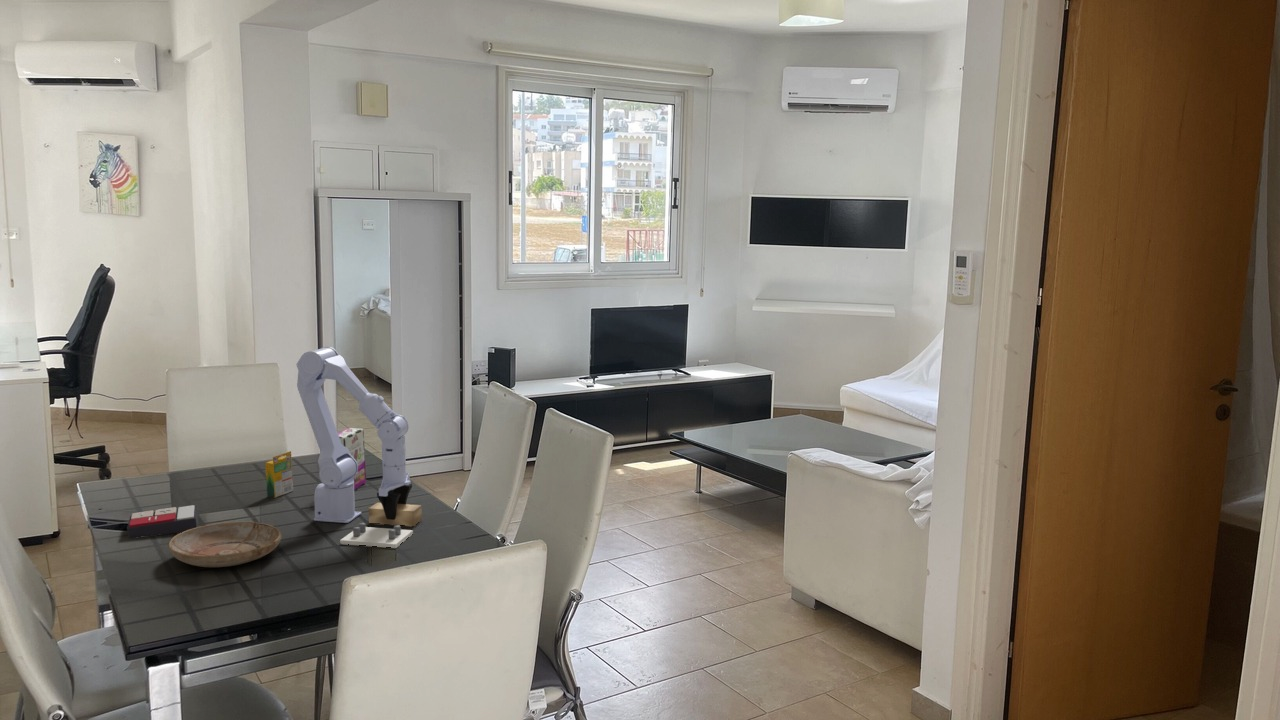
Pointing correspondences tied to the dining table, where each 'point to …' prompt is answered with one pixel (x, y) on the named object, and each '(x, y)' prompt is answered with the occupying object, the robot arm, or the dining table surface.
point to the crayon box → (279, 475)
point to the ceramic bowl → (224, 543)
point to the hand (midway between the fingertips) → (395, 515)
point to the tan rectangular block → (404, 515)
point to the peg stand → (376, 536)
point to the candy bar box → (355, 451)
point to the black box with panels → (162, 521)
